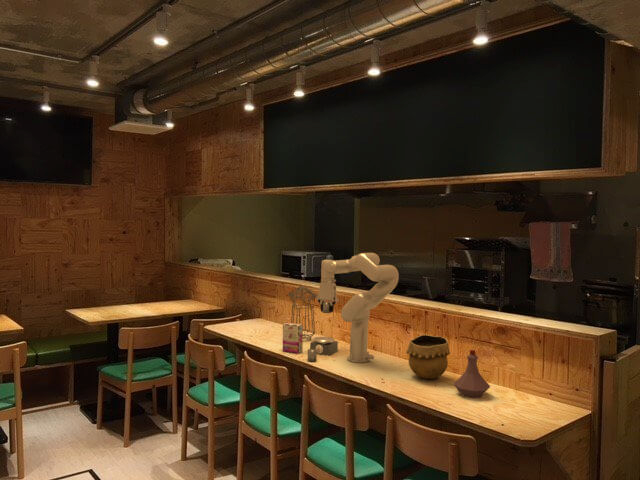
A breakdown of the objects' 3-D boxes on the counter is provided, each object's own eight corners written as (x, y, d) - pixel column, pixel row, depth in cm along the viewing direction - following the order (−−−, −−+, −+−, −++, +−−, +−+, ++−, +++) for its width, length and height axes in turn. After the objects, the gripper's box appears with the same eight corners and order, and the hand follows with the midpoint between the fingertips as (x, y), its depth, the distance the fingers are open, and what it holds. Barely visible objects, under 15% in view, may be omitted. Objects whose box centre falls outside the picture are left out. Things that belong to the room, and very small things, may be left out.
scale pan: (337, 340, 312) (337, 338, 312) (328, 344, 301) (328, 342, 301) (319, 337, 317) (319, 335, 317) (310, 341, 306) (310, 339, 306)
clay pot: (436, 387, 247) (437, 345, 246) (397, 378, 261) (398, 338, 260) (457, 378, 263) (458, 338, 262) (419, 369, 277) (420, 331, 276)
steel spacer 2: (332, 312, 312) (332, 302, 312) (328, 313, 308) (329, 303, 307) (324, 311, 314) (325, 301, 314) (321, 312, 310) (321, 302, 310)
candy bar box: (302, 352, 308) (303, 324, 308) (298, 354, 304) (299, 325, 303) (286, 349, 313) (287, 322, 313) (282, 351, 309) (282, 323, 308)
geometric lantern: (318, 341, 336) (319, 287, 334) (295, 344, 329) (296, 288, 327) (308, 336, 350) (308, 283, 348) (286, 338, 343) (286, 285, 341)
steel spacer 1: (318, 360, 291) (318, 349, 291) (313, 362, 286) (314, 351, 286) (310, 359, 293) (310, 348, 293) (305, 361, 289) (306, 350, 288)
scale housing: (337, 351, 312) (337, 341, 312) (328, 356, 301) (328, 345, 300) (319, 348, 317) (319, 338, 317) (309, 353, 306) (309, 342, 306)
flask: (474, 403, 227) (476, 357, 226) (444, 392, 240) (446, 349, 240) (498, 396, 237) (499, 352, 236) (468, 386, 250) (469, 344, 249)
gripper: (343, 281, 310) (342, 312, 310) (317, 279, 317) (316, 309, 318) (338, 282, 303) (337, 314, 304) (311, 280, 311) (311, 311, 312)
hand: (326, 311), depth 311 cm, fingers closed on steel spacer 2, 5 cm apart
